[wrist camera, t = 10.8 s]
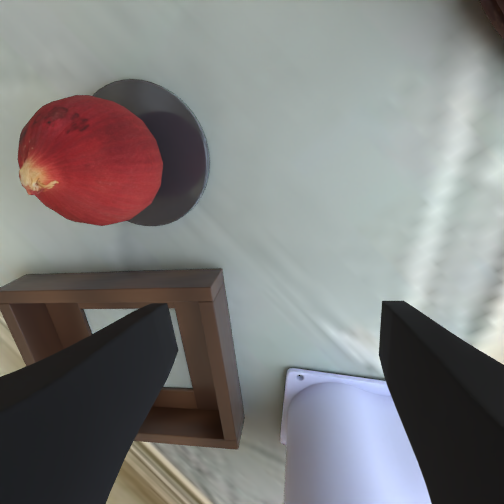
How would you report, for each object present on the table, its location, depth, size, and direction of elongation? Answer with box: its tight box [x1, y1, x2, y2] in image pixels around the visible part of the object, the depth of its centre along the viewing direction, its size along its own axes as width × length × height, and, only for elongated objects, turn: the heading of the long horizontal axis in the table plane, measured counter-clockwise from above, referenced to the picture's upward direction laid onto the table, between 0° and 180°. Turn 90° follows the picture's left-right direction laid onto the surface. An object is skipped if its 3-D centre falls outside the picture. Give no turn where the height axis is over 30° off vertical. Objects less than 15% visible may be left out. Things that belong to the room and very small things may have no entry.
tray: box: [0, 269, 245, 449], centre depth 22 cm, size 16×14×3 cm
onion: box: [18, 95, 163, 226], centre depth 14 cm, size 6×6×8 cm
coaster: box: [93, 79, 210, 226], centre depth 18 cm, size 8×8×1 cm
